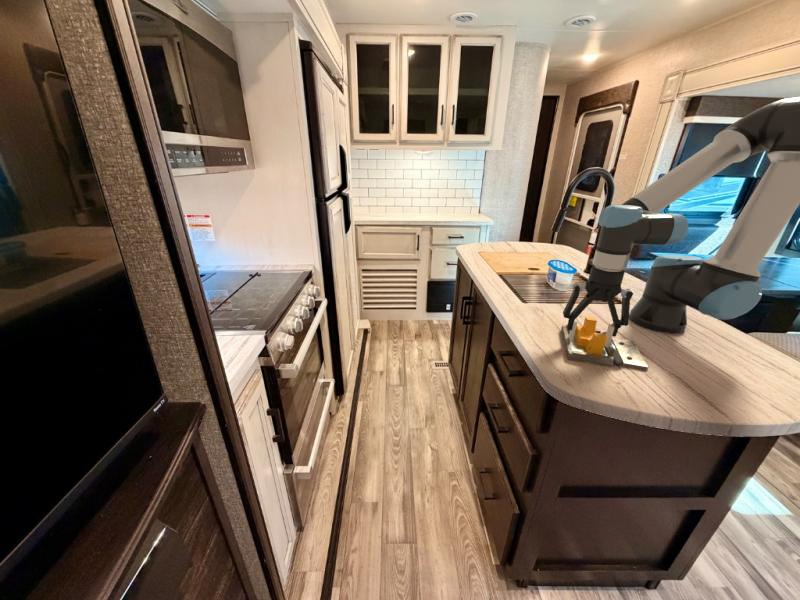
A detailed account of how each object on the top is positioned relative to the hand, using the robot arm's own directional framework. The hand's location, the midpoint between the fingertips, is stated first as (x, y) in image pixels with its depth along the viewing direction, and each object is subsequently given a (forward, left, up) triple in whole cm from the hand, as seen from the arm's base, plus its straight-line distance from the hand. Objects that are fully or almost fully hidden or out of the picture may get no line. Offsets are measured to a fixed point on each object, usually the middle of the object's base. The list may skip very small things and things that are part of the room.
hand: (587, 342), depth 93 cm
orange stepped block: (0, 0, -1) cm, 1 cm away
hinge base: (-5, 0, -2) cm, 5 cm away
